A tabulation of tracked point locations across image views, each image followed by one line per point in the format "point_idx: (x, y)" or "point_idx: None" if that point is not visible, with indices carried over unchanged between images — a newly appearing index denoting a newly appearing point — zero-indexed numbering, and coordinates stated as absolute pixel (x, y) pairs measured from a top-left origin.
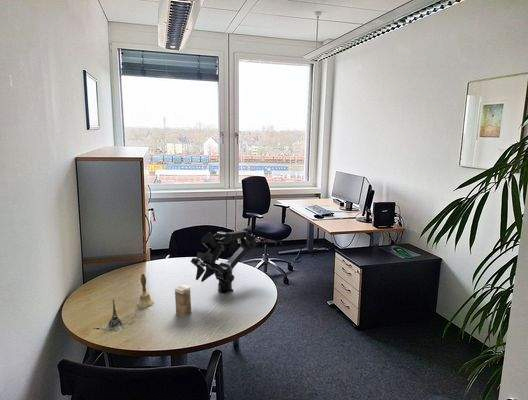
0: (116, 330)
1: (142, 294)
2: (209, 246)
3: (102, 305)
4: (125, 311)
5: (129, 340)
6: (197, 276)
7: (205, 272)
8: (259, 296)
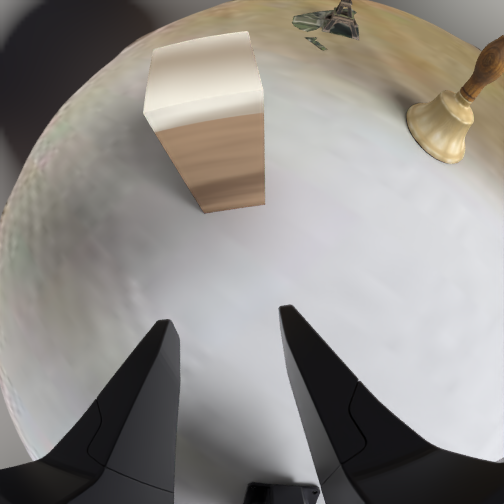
0: (300, 16)
1: (452, 92)
2: None
3: (468, 74)
4: (408, 70)
5: (221, 18)
6: (285, 342)
7: (96, 442)
8: None
